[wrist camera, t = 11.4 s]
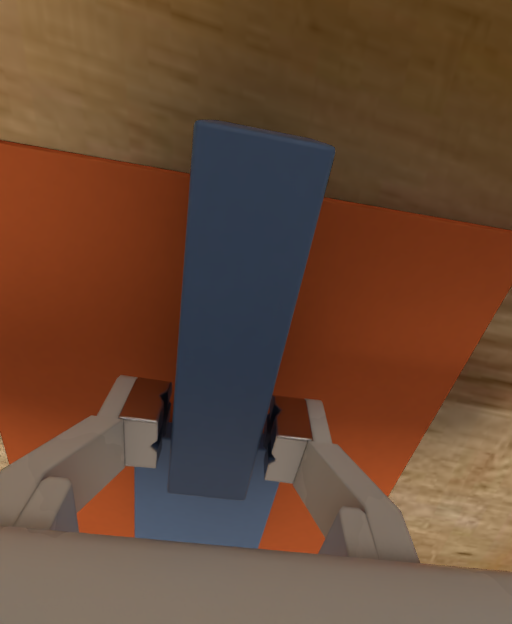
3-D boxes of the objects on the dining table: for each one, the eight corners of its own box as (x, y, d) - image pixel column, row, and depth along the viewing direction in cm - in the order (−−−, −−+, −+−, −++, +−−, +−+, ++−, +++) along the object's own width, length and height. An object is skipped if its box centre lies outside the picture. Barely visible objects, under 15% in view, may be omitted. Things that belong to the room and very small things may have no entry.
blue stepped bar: (142, 105, 8) (90, 98, 5) (378, 151, 8) (429, 164, 6) (139, 523, 16) (118, 596, 14) (257, 534, 16) (257, 607, 14)
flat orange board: (-74, 126, 8) (-88, 127, 8) (530, 233, 10) (540, 237, 9) (61, 630, 23) (58, 638, 22) (295, 646, 24) (295, 653, 24)
